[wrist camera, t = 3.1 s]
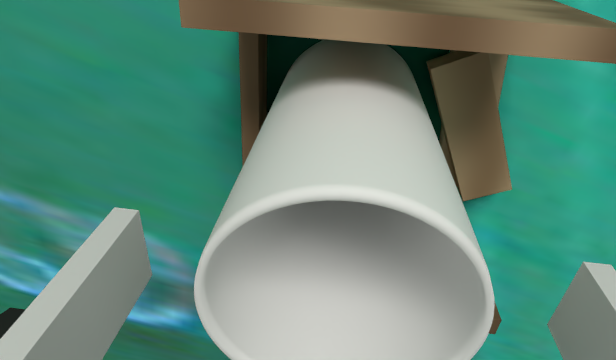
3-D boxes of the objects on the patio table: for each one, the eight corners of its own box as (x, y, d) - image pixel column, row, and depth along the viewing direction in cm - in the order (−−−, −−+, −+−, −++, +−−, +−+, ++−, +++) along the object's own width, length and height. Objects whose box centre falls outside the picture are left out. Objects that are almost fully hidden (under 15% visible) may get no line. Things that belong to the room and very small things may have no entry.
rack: (252, 190, 29) (209, 299, 20) (248, -32, 21) (178, -6, 13) (453, 211, 28) (495, 334, 20) (521, -12, 21) (636, 30, 12)
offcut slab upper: (457, 187, 26) (463, 201, 25) (426, 61, 22) (430, 69, 21) (504, 176, 25) (512, 189, 24) (479, 42, 21) (487, 49, 20)
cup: (278, 156, 27) (201, 382, 14) (284, 27, 23) (178, 172, 9) (402, 170, 27) (450, 418, 13) (431, 42, 22) (547, 215, 9)
